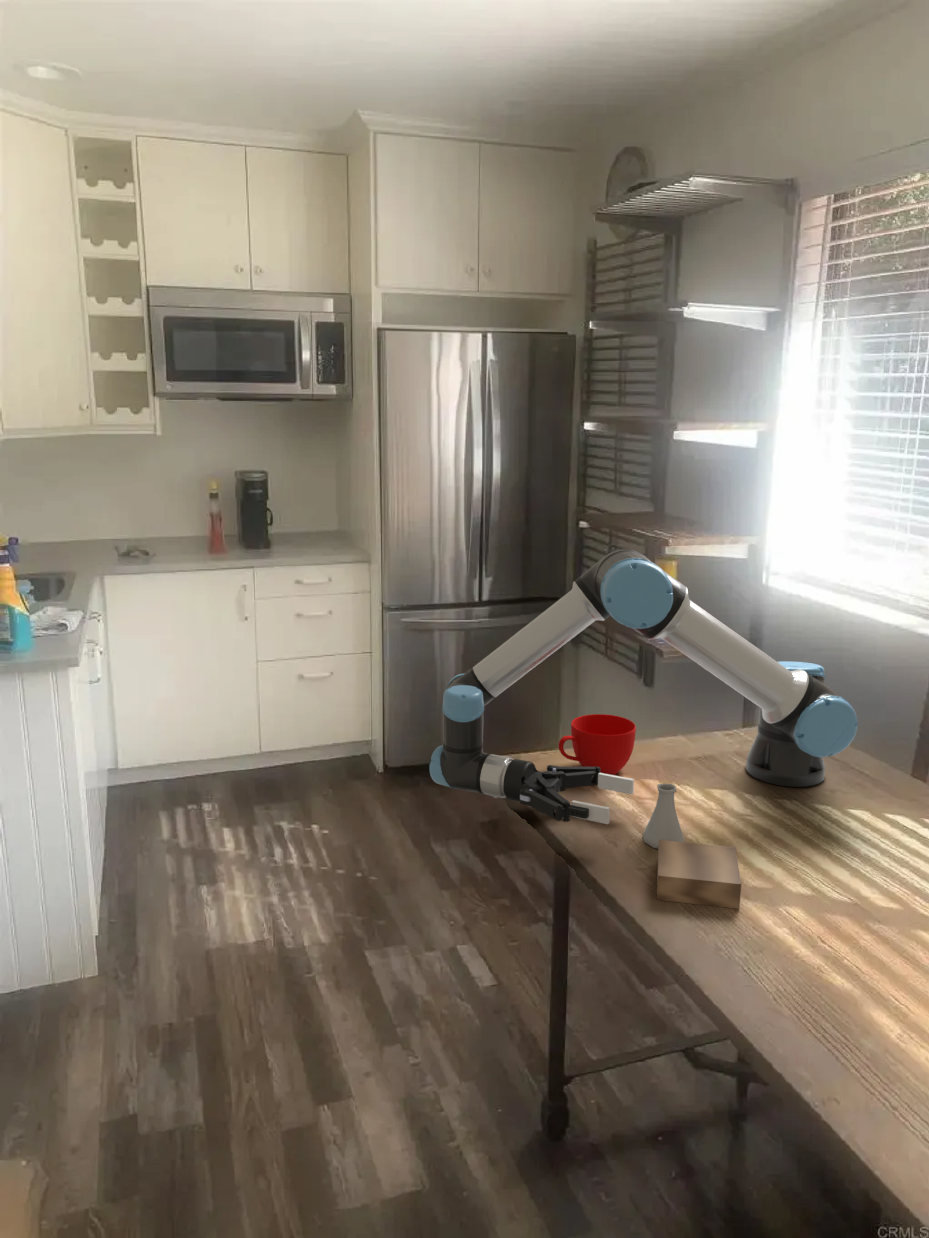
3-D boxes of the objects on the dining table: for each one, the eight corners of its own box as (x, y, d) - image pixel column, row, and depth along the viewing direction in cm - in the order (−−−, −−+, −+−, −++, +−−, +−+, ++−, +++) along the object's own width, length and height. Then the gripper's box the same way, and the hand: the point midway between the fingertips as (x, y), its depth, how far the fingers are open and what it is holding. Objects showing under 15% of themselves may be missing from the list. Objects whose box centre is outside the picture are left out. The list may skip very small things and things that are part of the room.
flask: (675, 830, 161) (678, 777, 159) (692, 849, 154) (695, 794, 152) (636, 833, 160) (638, 779, 158) (651, 852, 153) (654, 796, 151)
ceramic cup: (541, 768, 189) (542, 722, 187) (608, 755, 196) (610, 710, 194) (576, 791, 178) (578, 742, 175) (647, 776, 185) (649, 729, 183)
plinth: (733, 869, 148) (735, 847, 147) (739, 908, 136) (741, 884, 135) (657, 862, 150) (658, 839, 149) (656, 899, 138) (658, 875, 138)
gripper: (536, 774, 180) (641, 794, 171) (479, 824, 159) (596, 850, 149) (536, 738, 179) (643, 756, 169) (480, 783, 157) (598, 807, 148)
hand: (621, 800), depth 159 cm, fingers open, 13 cm apart
